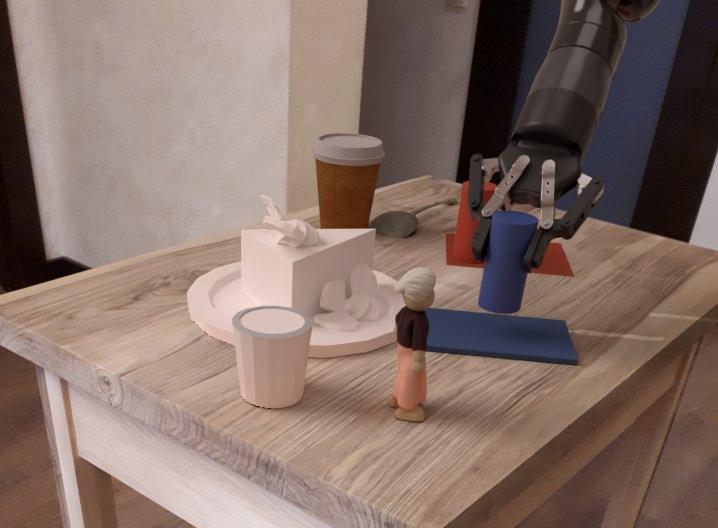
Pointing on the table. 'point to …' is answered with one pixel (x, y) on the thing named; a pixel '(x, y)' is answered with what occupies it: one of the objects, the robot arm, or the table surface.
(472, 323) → the blue mat
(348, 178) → the disposable coffee cup
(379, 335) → the dish
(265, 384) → the white tapered cup
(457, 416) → the table surface
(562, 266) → the red mat
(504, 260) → the blue cylinder
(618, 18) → the robot arm
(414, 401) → the grandmother figurine
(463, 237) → the red cylinder
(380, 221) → the soupspoon
